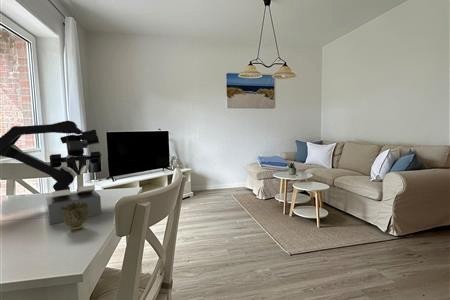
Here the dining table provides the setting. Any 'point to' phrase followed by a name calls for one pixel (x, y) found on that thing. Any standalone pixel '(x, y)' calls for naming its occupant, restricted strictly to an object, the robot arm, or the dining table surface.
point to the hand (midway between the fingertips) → (78, 174)
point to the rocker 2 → (85, 189)
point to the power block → (57, 202)
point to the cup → (75, 215)
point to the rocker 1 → (60, 193)
